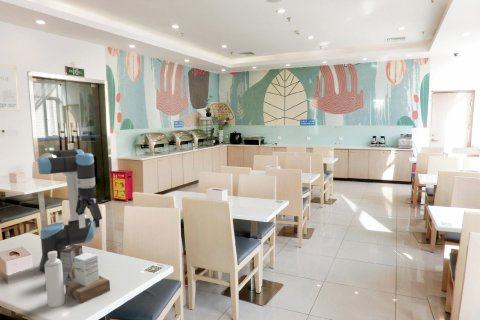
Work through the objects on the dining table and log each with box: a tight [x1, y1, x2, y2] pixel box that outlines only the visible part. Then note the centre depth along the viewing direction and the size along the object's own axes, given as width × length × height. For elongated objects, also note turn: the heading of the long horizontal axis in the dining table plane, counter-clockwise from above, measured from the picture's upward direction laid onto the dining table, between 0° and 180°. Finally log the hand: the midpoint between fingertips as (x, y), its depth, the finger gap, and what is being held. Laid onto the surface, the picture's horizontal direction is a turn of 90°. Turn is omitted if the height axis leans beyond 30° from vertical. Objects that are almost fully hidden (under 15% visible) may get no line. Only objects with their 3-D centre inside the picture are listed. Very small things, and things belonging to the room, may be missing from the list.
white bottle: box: [44, 251, 66, 308], centre depth 149 cm, size 7×7×25 cm
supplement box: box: [74, 251, 100, 286], centre depth 159 cm, size 7×7×13 cm
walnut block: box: [64, 275, 111, 304], centre depth 160 cm, size 14×14×5 cm
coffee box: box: [60, 244, 84, 283], centre depth 174 cm, size 9×6×16 cm
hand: (89, 230), depth 162 cm, fingers open, 13 cm apart
